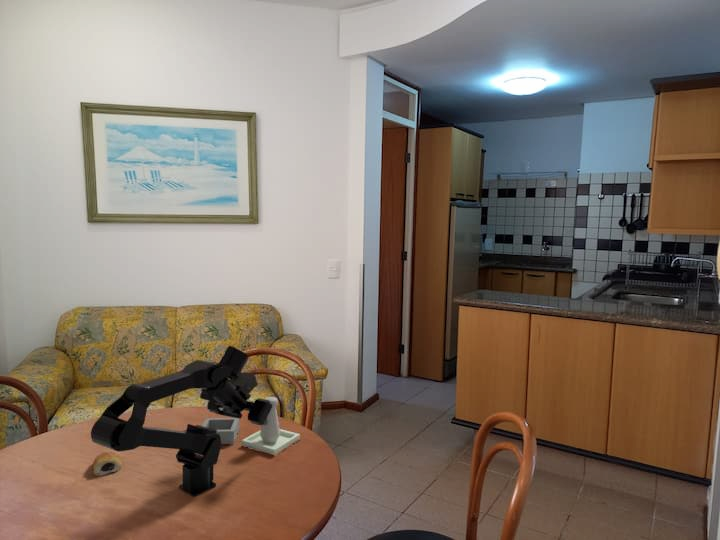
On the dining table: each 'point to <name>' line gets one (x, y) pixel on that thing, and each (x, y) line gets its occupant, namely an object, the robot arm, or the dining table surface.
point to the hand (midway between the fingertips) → (253, 420)
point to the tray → (282, 442)
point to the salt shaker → (271, 424)
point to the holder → (224, 428)
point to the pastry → (106, 463)
